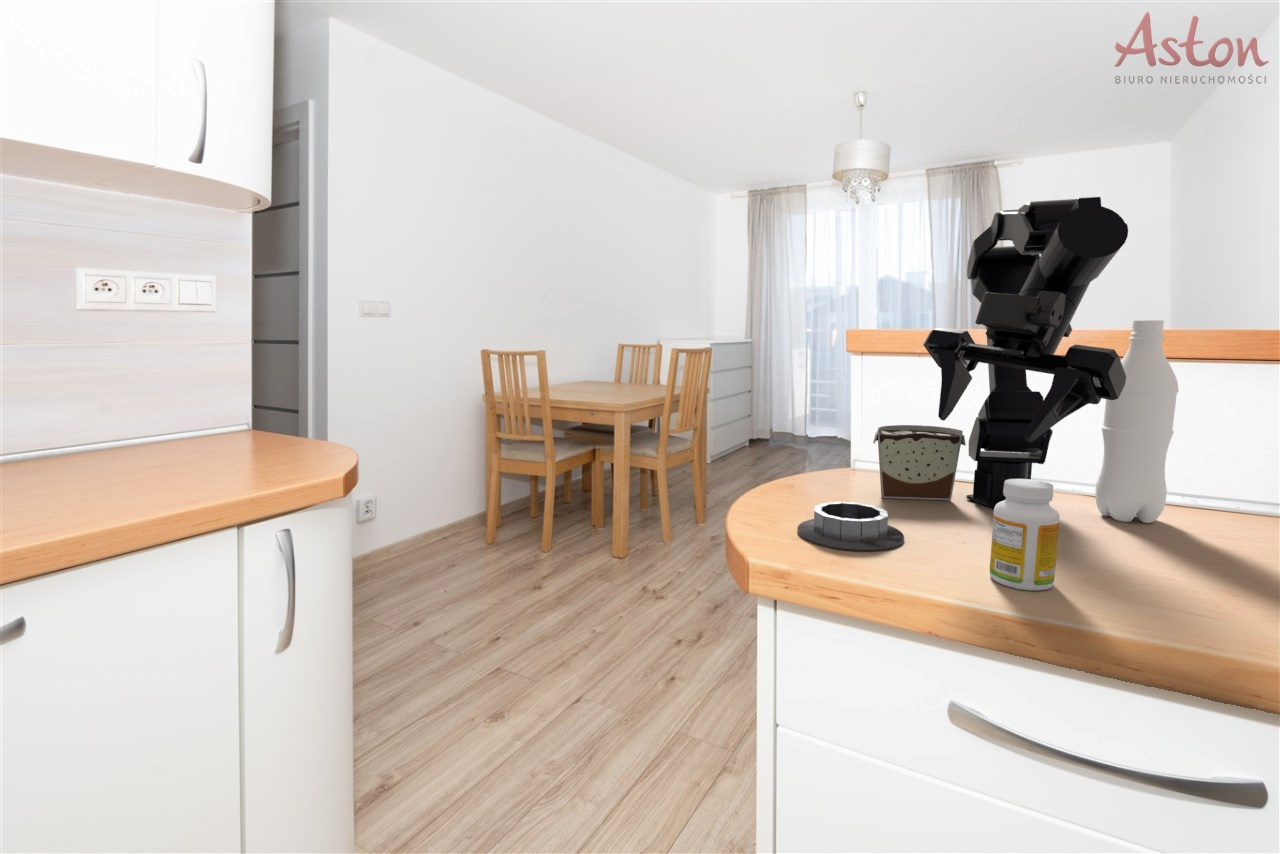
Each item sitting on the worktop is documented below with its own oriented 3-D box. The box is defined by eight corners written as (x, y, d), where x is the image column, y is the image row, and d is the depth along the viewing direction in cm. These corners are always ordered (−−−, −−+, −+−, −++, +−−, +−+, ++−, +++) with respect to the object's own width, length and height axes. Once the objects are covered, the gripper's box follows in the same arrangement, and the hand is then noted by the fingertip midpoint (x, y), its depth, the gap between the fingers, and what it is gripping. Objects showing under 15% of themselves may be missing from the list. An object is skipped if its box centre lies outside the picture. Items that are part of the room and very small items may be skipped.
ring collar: (865, 516, 83) (866, 495, 83) (926, 546, 72) (928, 521, 72) (780, 524, 81) (781, 501, 80) (830, 555, 69) (831, 529, 69)
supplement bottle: (1045, 574, 63) (1053, 478, 62) (1060, 595, 58) (1070, 491, 57) (984, 568, 65) (991, 474, 64) (994, 588, 60) (1002, 487, 59)
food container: (948, 490, 97) (952, 425, 96) (962, 500, 91) (966, 430, 90) (863, 488, 99) (866, 423, 98) (871, 497, 93) (874, 429, 92)
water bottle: (1167, 529, 77) (1192, 319, 74) (1095, 520, 81) (1115, 320, 77) (1158, 515, 83) (1180, 320, 80) (1091, 507, 87) (1109, 321, 84)
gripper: (938, 256, 72) (874, 375, 70) (1135, 263, 57) (1060, 413, 56) (970, 311, 79) (912, 421, 77) (1153, 330, 64) (1087, 466, 62)
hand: (982, 428), depth 68 cm, fingers open, 9 cm apart
